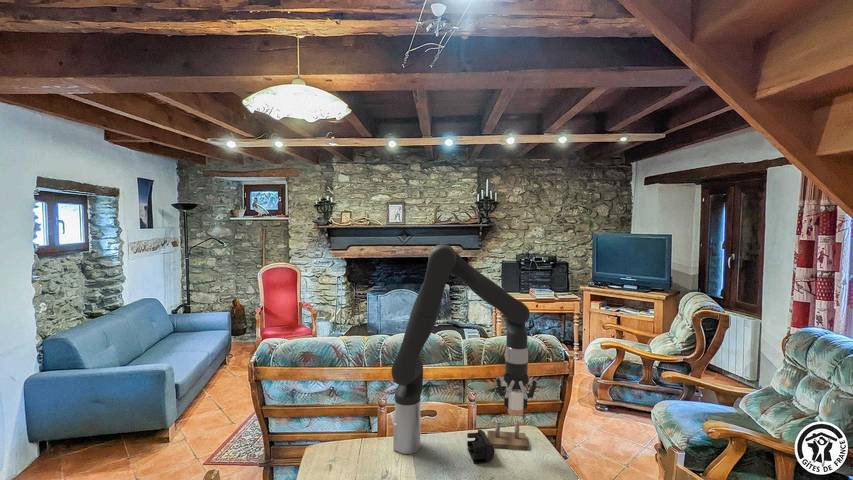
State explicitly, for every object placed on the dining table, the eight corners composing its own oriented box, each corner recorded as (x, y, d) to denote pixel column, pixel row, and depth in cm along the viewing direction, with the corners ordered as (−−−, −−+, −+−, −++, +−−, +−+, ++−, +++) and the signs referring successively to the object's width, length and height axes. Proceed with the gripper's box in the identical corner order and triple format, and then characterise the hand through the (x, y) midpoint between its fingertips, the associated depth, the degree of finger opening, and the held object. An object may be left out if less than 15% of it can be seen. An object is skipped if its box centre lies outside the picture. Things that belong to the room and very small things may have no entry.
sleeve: (508, 415, 133) (509, 392, 132) (507, 408, 138) (507, 386, 137) (523, 416, 132) (524, 393, 132) (522, 409, 137) (522, 387, 137)
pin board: (488, 447, 141) (488, 427, 141) (487, 434, 150) (487, 415, 150) (528, 450, 139) (528, 430, 139) (524, 436, 148) (525, 417, 148)
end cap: (495, 463, 132) (495, 443, 131) (474, 465, 131) (474, 445, 130) (485, 447, 142) (486, 428, 141) (466, 448, 140) (466, 430, 140)
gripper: (495, 361, 132) (494, 411, 132) (539, 364, 130) (538, 414, 130) (494, 354, 139) (493, 401, 140) (536, 356, 137) (535, 404, 138)
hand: (515, 407), depth 135 cm, fingers closed on sleeve, 5 cm apart
